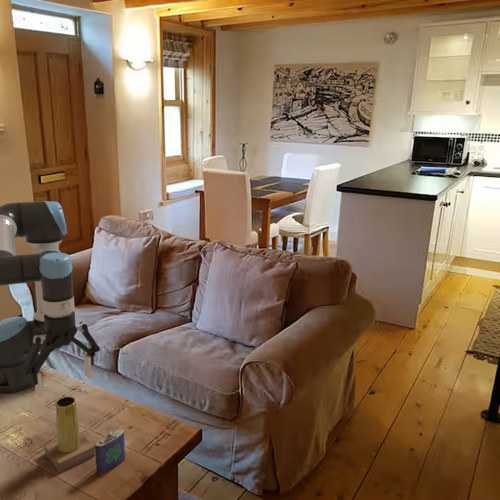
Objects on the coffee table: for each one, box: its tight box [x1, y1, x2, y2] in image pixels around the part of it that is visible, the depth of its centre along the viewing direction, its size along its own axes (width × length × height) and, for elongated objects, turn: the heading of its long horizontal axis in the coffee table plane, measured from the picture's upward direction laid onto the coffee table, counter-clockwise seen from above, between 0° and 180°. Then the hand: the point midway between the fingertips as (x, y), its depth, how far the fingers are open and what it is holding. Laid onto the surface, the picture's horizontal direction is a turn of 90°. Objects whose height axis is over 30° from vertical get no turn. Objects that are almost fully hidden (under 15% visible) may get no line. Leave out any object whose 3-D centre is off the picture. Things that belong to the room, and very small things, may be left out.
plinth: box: [43, 430, 96, 473], centre depth 134 cm, size 10×10×3 cm
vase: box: [55, 396, 81, 453], centre depth 132 cm, size 6×6×14 cm
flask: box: [94, 429, 126, 476], centre depth 130 cm, size 9×3×11 cm, turn 144°
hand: (64, 384), depth 129 cm, fingers open, 13 cm apart
